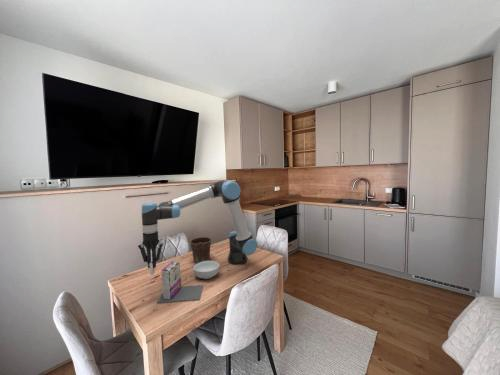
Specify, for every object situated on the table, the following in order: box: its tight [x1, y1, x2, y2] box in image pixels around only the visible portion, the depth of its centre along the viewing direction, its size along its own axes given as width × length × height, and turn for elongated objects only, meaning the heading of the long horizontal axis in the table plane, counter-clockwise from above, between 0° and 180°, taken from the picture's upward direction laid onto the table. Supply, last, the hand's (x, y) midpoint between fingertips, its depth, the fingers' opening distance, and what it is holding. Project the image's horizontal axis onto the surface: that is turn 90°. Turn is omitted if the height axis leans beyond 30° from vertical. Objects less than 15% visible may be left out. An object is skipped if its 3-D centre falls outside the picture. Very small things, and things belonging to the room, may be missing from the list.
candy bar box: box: [161, 260, 182, 300], centre depth 114 cm, size 11×5×16 cm, turn 171°
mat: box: [156, 284, 204, 304], centre depth 115 cm, size 22×14×1 cm, turn 96°
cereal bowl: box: [193, 260, 220, 280], centre depth 135 cm, size 17×17×7 cm
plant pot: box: [189, 236, 212, 264], centre depth 159 cm, size 16×16×16 cm
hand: (152, 273), depth 113 cm, fingers closed
